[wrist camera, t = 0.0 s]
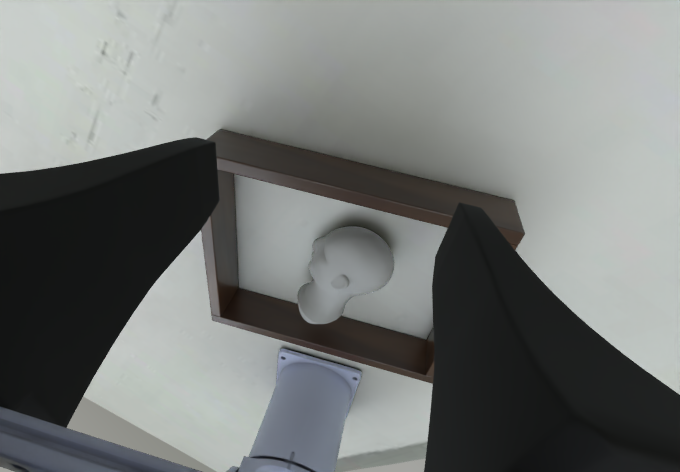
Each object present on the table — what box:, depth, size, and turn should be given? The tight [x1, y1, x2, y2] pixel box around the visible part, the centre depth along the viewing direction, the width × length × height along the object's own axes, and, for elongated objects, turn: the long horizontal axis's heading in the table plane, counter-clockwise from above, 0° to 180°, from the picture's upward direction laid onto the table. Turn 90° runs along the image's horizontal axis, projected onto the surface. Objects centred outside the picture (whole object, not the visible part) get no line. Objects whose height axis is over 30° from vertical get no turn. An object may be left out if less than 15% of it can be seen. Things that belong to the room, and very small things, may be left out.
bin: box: [201, 129, 525, 383], centre depth 24 cm, size 15×18×3 cm
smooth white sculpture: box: [298, 226, 394, 324], centre depth 24 cm, size 4×8×5 cm
